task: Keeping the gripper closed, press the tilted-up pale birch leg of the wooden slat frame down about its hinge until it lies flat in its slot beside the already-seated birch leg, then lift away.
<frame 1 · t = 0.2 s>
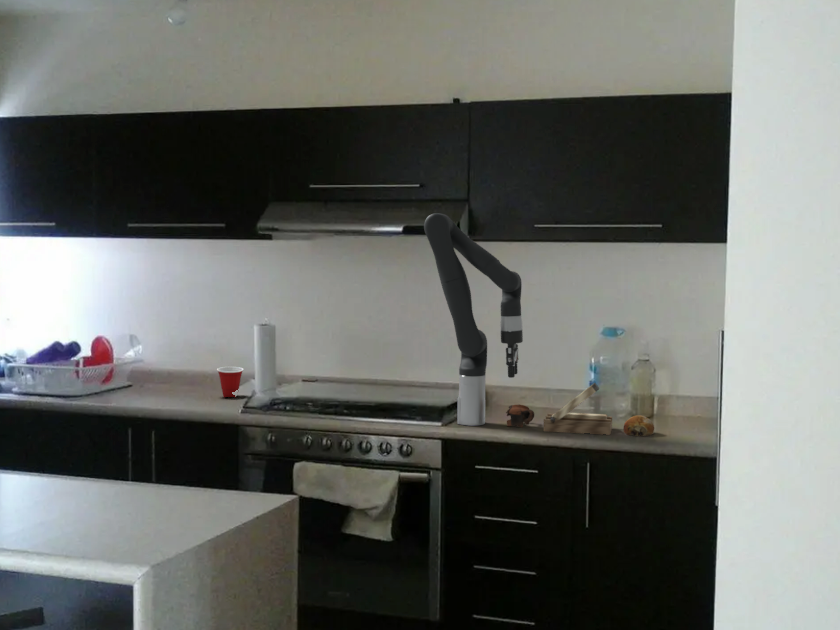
hand: (512, 375, 317), 17 cm above the counter, tool pointing down, fingers open, 8 cm apart
bread roll: (638, 434, 305), on the counter
pottery mug: (520, 426, 319), on the counter
hinged leg: (573, 403, 308), point 9 cm above the counter, hinge at 40.0°
plastic cup: (230, 397, 379), on the counter
wooden slat frame: (578, 429, 311), on the counter
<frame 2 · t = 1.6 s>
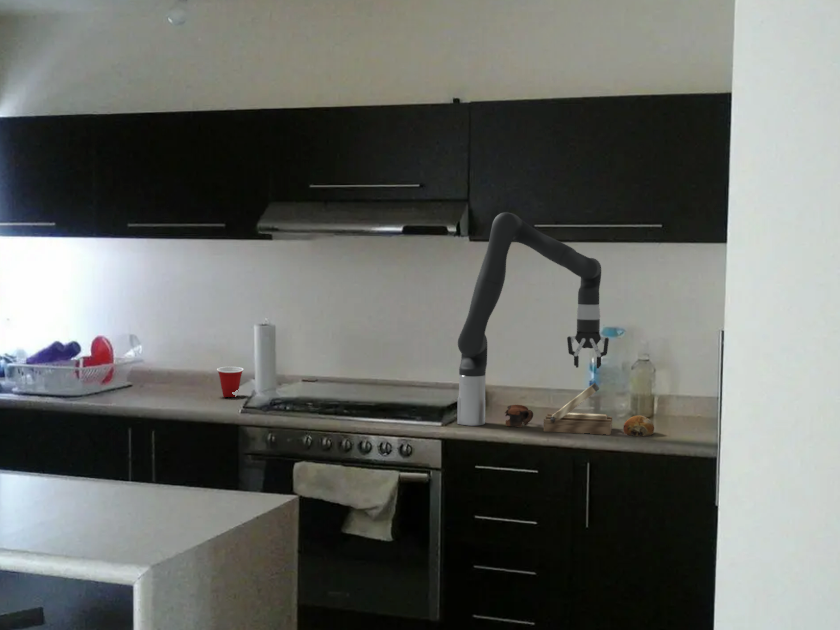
hand: (587, 367, 306), 22 cm above the counter, tool pointing down, fingers open, 6 cm apart
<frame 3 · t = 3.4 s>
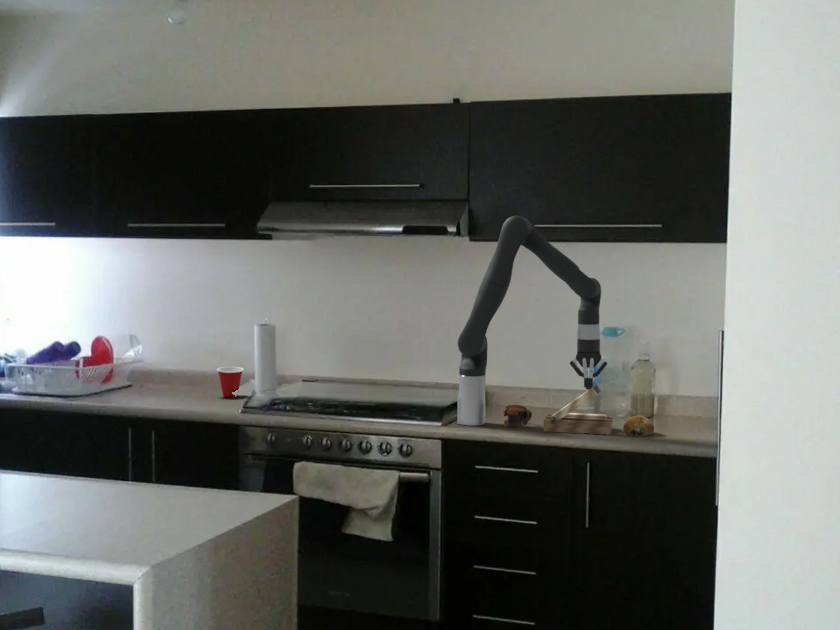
hand: (588, 389, 307), 14 cm above the counter, tool pointing down, fingers closed
hinged leg: (574, 404, 308), point 9 cm above the counter, hinge at 37.3°, touching gripper
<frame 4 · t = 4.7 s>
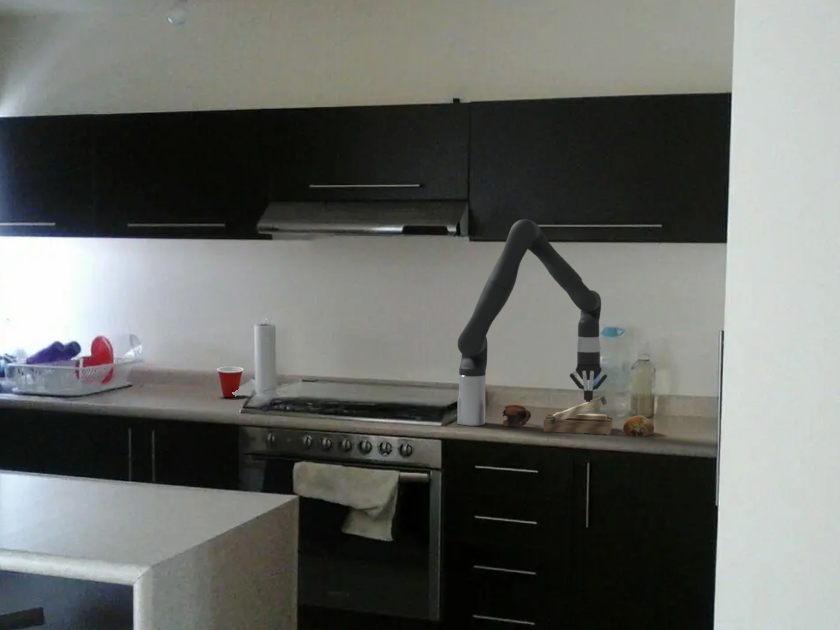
hand: (588, 401, 307), 10 cm above the counter, tool pointing down, fingers closed
hinged leg: (577, 410, 308), point 7 cm above the counter, hinge at 23.4°, touching gripper
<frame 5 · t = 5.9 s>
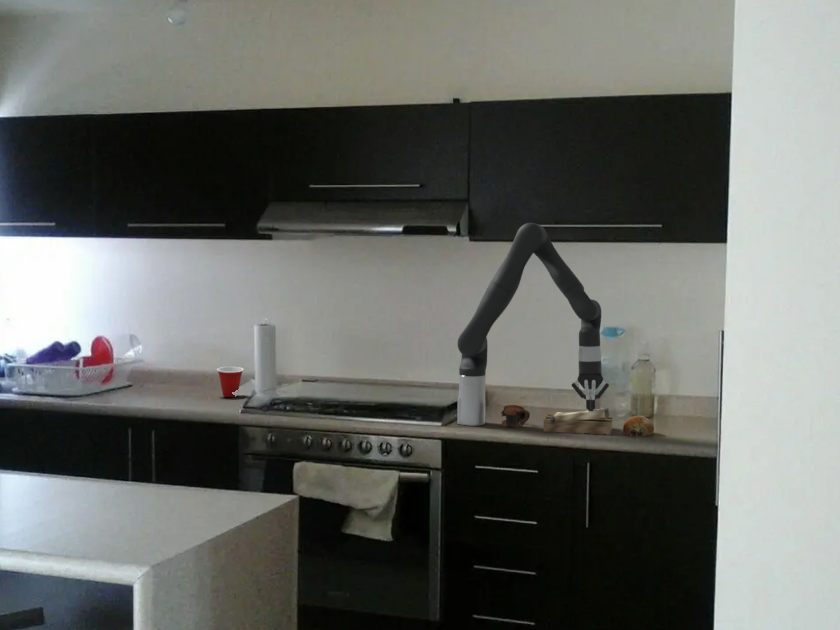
hand: (591, 410, 307), 7 cm above the counter, tool pointing down, fingers closed
hinged leg: (579, 415, 308), point 5 cm above the counter, hinge at 9.9°, touching gripper
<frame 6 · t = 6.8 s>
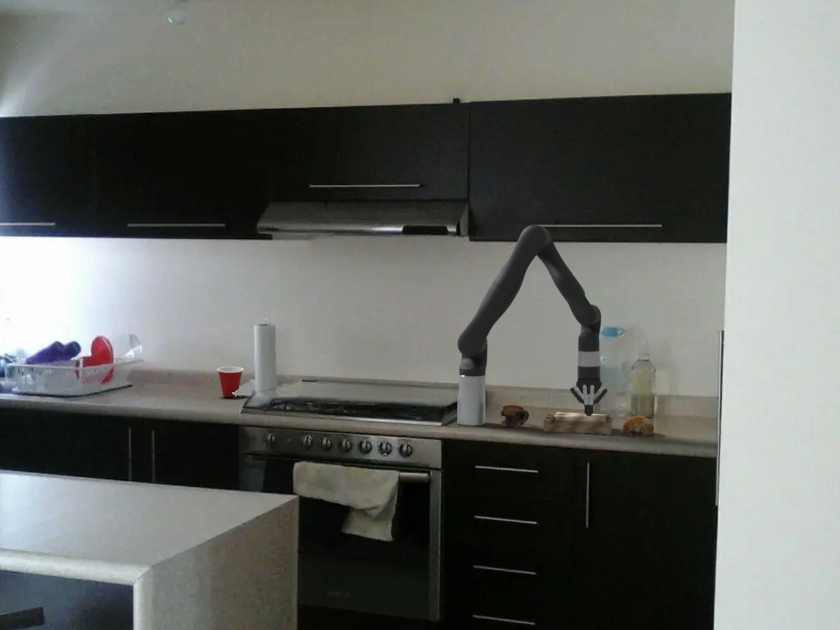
hand: (589, 415, 307), 6 cm above the counter, tool pointing down, fingers closed
hinged leg: (579, 419, 308), point 4 cm above the counter, hinge at 2.8°, touching gripper
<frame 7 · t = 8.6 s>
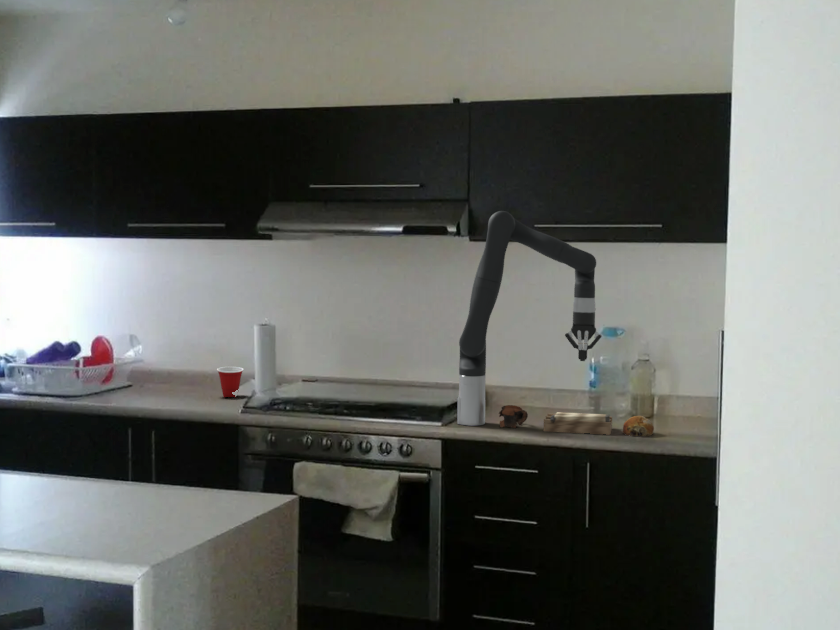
hand: (582, 360, 316), 23 cm above the counter, tool pointing down, fingers closed
hinged leg: (579, 419, 308), point 4 cm above the counter, hinge at 2.7°
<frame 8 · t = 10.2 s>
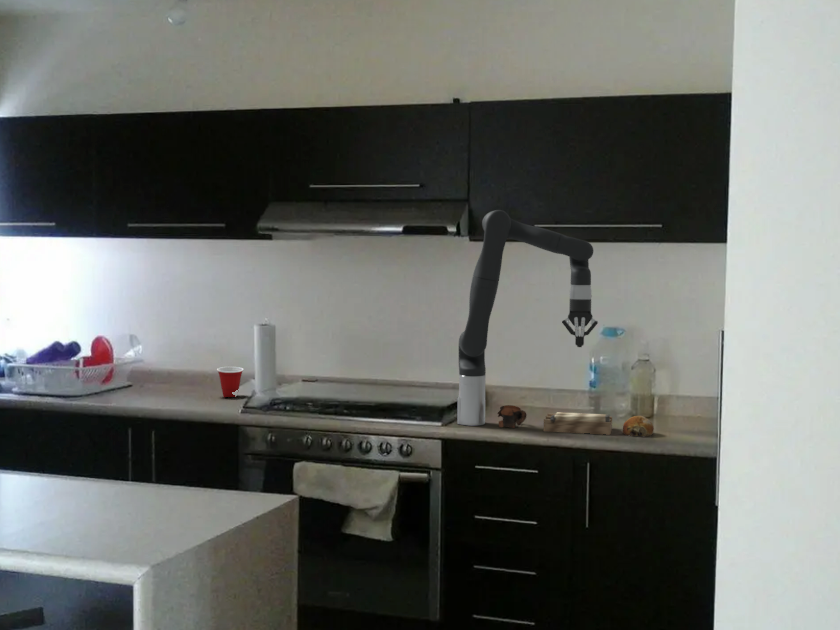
hand: (579, 346, 322), 27 cm above the counter, tool pointing down, fingers closed
at the end: hinged leg at +3° (first picture: +40°) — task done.
